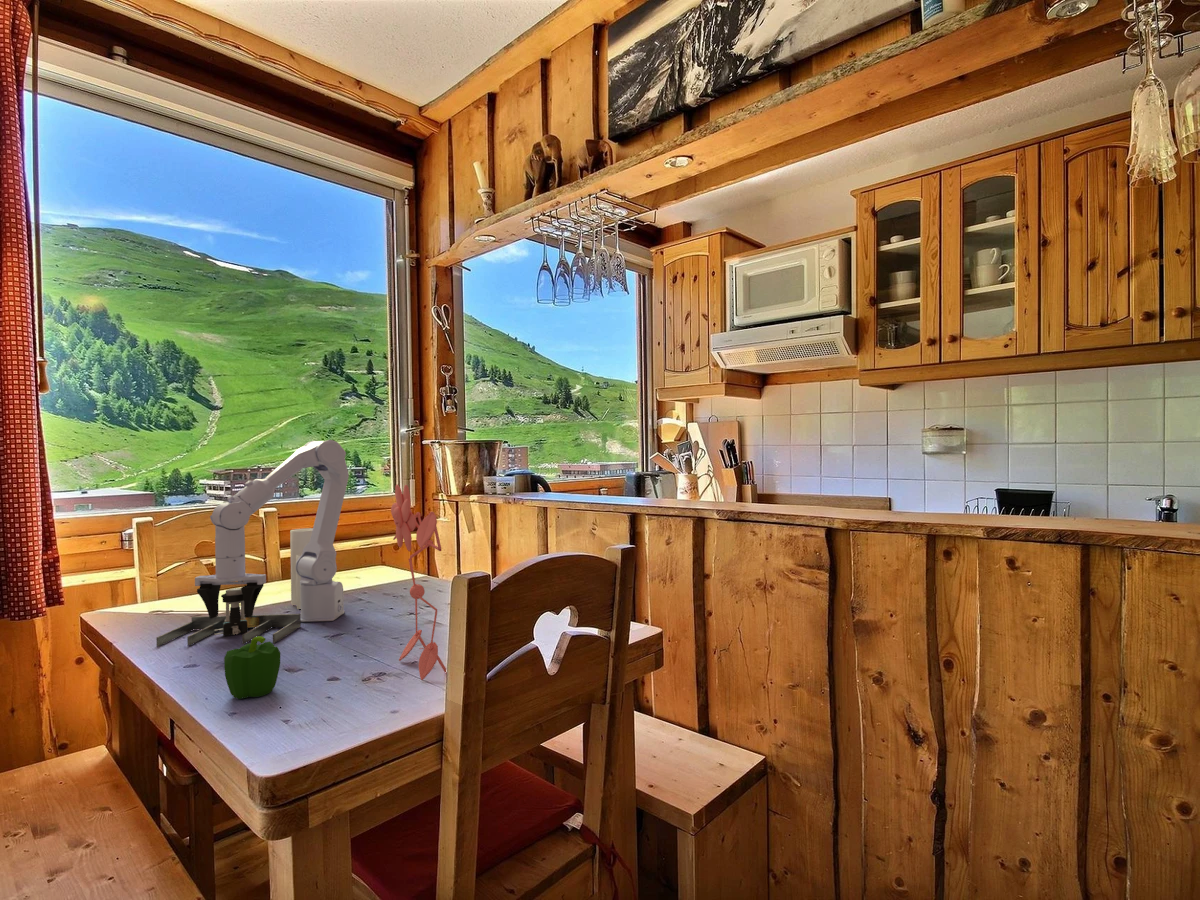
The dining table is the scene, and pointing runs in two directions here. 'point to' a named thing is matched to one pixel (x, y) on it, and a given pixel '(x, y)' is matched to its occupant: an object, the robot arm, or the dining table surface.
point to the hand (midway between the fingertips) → (231, 616)
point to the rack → (209, 625)
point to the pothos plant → (427, 527)
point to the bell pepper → (252, 669)
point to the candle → (297, 544)
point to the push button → (234, 613)
